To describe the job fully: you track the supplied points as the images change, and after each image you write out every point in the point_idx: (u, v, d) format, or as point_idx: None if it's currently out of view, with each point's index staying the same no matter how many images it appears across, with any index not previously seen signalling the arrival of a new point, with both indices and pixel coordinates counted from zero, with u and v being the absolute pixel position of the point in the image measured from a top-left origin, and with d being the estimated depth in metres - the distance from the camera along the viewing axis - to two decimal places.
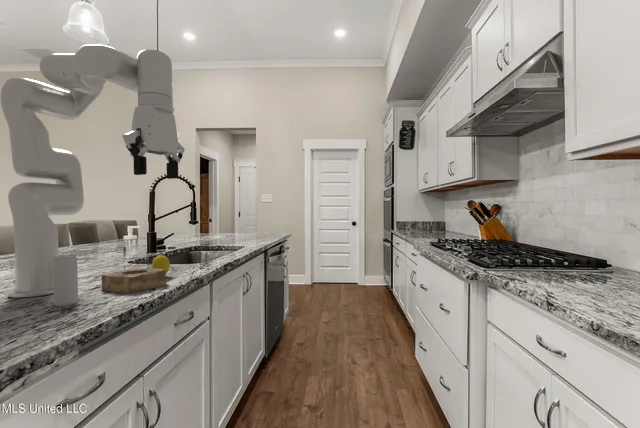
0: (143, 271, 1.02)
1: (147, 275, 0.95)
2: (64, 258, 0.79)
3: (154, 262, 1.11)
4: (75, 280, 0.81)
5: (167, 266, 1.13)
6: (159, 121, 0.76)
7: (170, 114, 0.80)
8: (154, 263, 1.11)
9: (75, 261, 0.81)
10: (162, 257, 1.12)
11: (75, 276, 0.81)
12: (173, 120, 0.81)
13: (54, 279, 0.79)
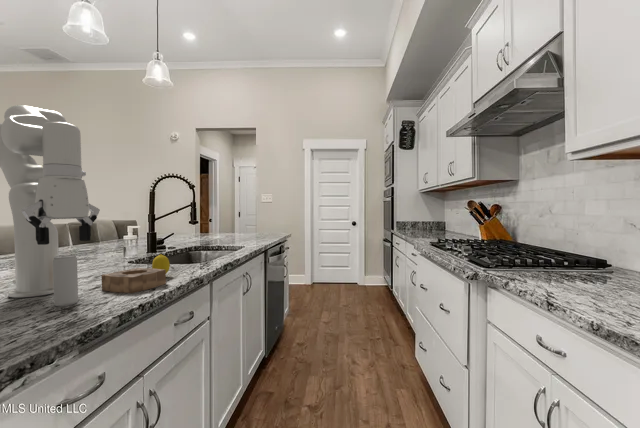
0: (143, 271, 1.02)
1: (147, 275, 0.95)
2: (64, 258, 0.79)
3: (154, 262, 1.11)
4: (75, 280, 0.81)
5: (167, 266, 1.13)
6: (64, 190, 0.79)
7: (78, 181, 0.82)
8: (154, 263, 1.11)
9: (75, 261, 0.81)
10: (162, 257, 1.12)
11: (75, 276, 0.81)
12: (83, 186, 0.83)
13: (54, 279, 0.79)
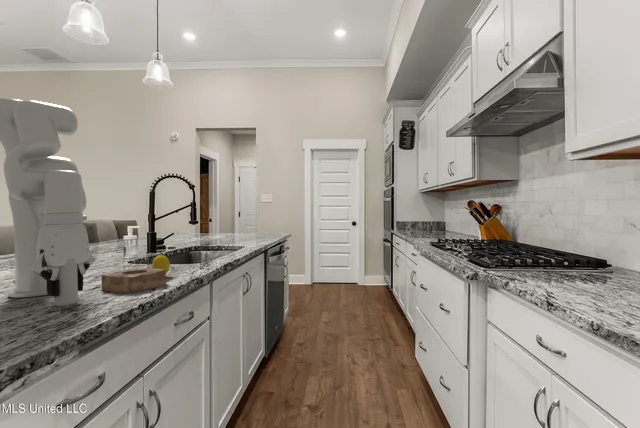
0: (143, 271, 1.02)
1: (147, 275, 0.95)
2: None
3: (154, 262, 1.11)
4: (75, 280, 0.81)
5: (167, 266, 1.13)
6: (65, 238, 0.79)
7: (79, 227, 0.82)
8: (154, 263, 1.11)
9: (75, 261, 0.81)
10: (162, 257, 1.12)
11: (75, 276, 0.81)
12: (83, 231, 0.83)
13: None
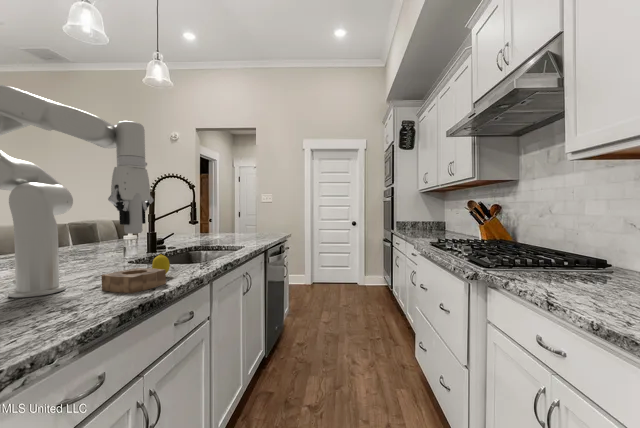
0: (143, 271, 1.02)
1: (147, 275, 0.95)
2: None
3: (154, 262, 1.11)
4: (141, 213, 0.98)
5: (167, 266, 1.13)
6: (134, 177, 0.96)
7: (143, 170, 0.99)
8: (154, 263, 1.11)
9: (140, 197, 0.98)
10: (162, 257, 1.12)
11: (141, 210, 0.98)
12: (146, 174, 1.00)
13: None
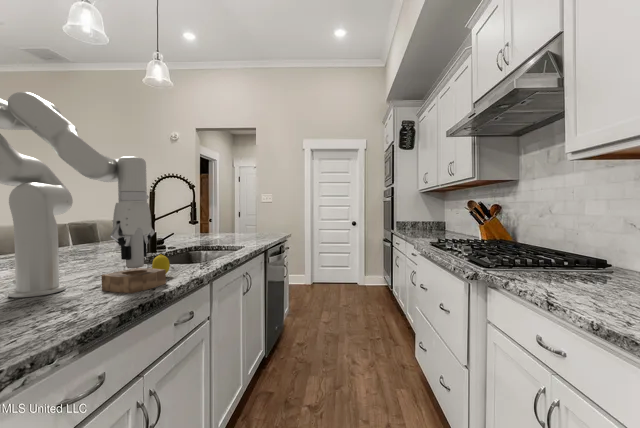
0: (143, 271, 1.02)
1: (147, 275, 0.95)
2: None
3: (154, 262, 1.11)
4: (142, 247, 0.99)
5: (167, 266, 1.13)
6: (135, 212, 0.96)
7: (144, 204, 1.00)
8: (154, 263, 1.11)
9: (142, 232, 0.99)
10: (162, 257, 1.12)
11: (142, 244, 0.99)
12: (147, 207, 1.01)
13: None
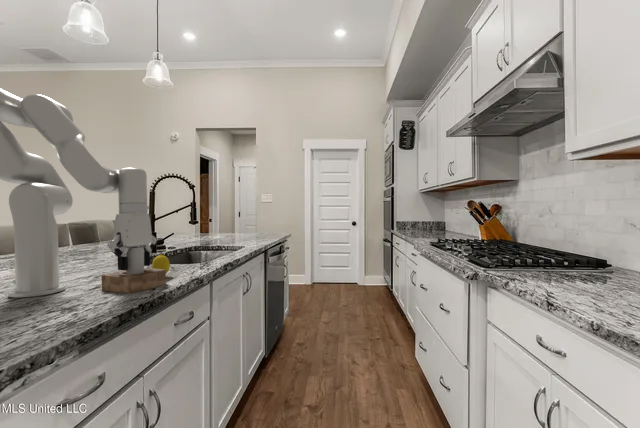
0: None
1: (147, 275, 0.95)
2: (136, 248, 0.97)
3: (154, 262, 1.11)
4: (143, 267, 0.99)
5: (167, 266, 1.13)
6: (136, 223, 0.97)
7: (145, 215, 1.00)
8: (154, 263, 1.11)
9: (143, 251, 0.99)
10: (162, 257, 1.12)
11: (143, 264, 0.99)
12: (148, 218, 1.01)
13: None
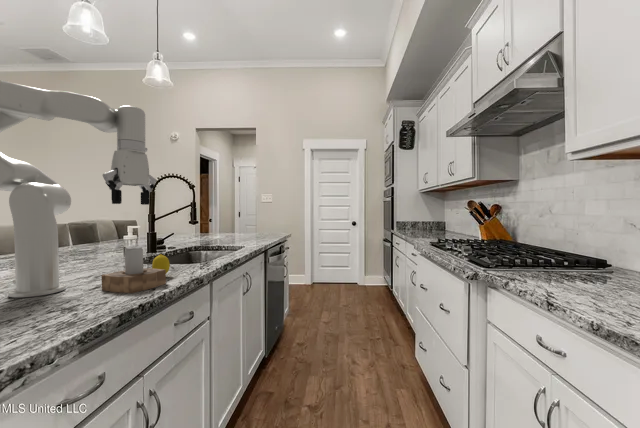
0: None
1: (147, 275, 0.95)
2: (134, 249, 0.97)
3: (154, 262, 1.11)
4: (142, 267, 0.99)
5: (167, 266, 1.13)
6: (133, 161, 0.97)
7: (143, 154, 1.01)
8: (154, 263, 1.11)
9: (142, 251, 0.99)
10: (162, 257, 1.12)
11: (142, 264, 0.99)
12: (145, 159, 1.02)
13: (126, 266, 0.97)
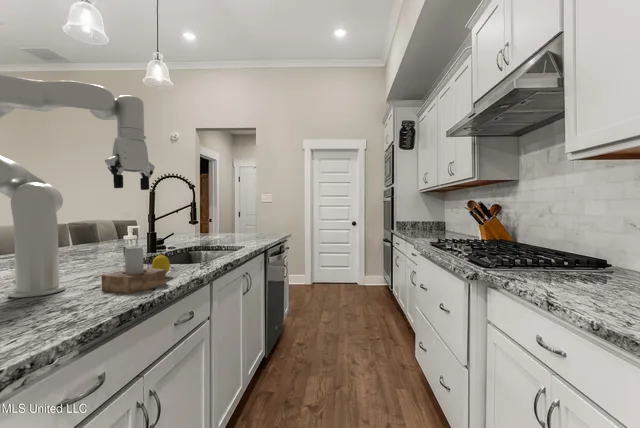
0: None
1: (147, 275, 0.95)
2: (135, 249, 0.97)
3: (154, 262, 1.11)
4: (142, 267, 0.99)
5: (167, 266, 1.13)
6: (133, 148, 1.03)
7: (142, 142, 1.06)
8: (154, 263, 1.11)
9: (142, 252, 0.99)
10: (162, 257, 1.12)
11: (142, 264, 0.99)
12: (144, 146, 1.07)
13: (127, 266, 0.96)
